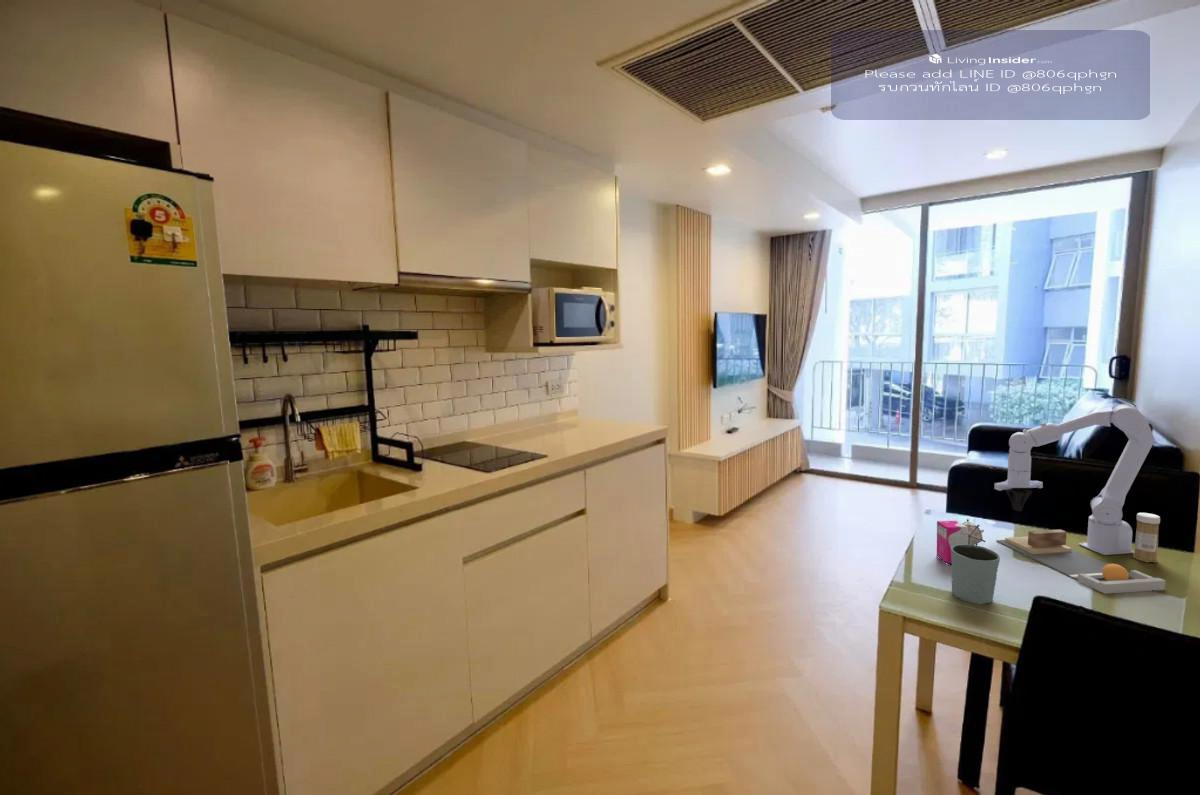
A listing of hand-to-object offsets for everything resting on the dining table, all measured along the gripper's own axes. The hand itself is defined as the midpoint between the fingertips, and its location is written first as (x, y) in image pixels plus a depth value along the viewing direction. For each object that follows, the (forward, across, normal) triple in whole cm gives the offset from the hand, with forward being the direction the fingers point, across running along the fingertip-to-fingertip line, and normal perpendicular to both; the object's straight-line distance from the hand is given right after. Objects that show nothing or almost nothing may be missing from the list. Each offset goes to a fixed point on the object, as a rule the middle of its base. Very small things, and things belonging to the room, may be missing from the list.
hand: (1017, 510), depth 167 cm
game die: (+9, +21, +6) cm, 23 cm away
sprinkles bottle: (+9, -19, +22) cm, 30 cm away
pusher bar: (+6, +2, +13) cm, 15 cm away
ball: (+6, +2, +33) cm, 34 cm away
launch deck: (+8, +2, +21) cm, 23 cm away
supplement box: (+9, +33, +15) cm, 37 cm away
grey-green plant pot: (+9, +42, +35) cm, 55 cm away
